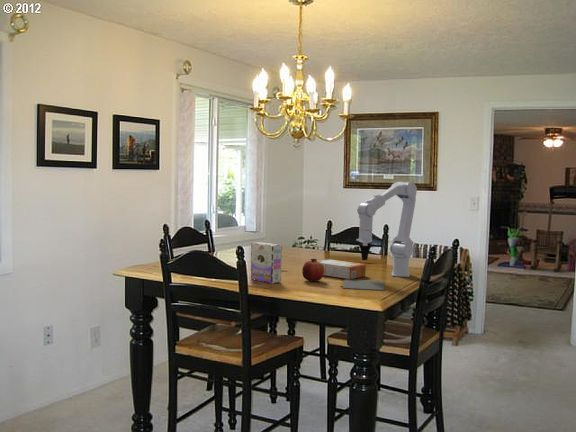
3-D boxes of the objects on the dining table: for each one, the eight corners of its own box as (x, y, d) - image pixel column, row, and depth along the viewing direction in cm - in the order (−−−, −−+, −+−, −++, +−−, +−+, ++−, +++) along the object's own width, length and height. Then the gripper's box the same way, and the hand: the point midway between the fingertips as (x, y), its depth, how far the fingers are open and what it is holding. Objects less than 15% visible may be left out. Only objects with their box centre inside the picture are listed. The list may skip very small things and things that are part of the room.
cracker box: (365, 277, 283) (328, 270, 296) (366, 264, 282) (329, 258, 295) (349, 280, 272) (311, 273, 285) (350, 267, 271) (312, 260, 284)
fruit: (306, 278, 273) (306, 256, 272) (327, 280, 269) (328, 258, 268) (297, 282, 263) (298, 259, 262) (319, 284, 259) (320, 261, 259)
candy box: (281, 282, 261) (282, 244, 260) (271, 284, 257) (272, 245, 256) (260, 278, 271) (261, 241, 269) (250, 279, 267) (250, 242, 265)
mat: (344, 280, 272) (344, 279, 272) (383, 282, 270) (383, 281, 270) (342, 288, 252) (342, 287, 252) (384, 290, 250) (384, 289, 250)
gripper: (357, 227, 280) (356, 257, 281) (356, 231, 266) (355, 261, 267) (372, 228, 279) (371, 258, 280) (372, 231, 265) (371, 262, 266)
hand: (364, 260), depth 273 cm, fingers closed
